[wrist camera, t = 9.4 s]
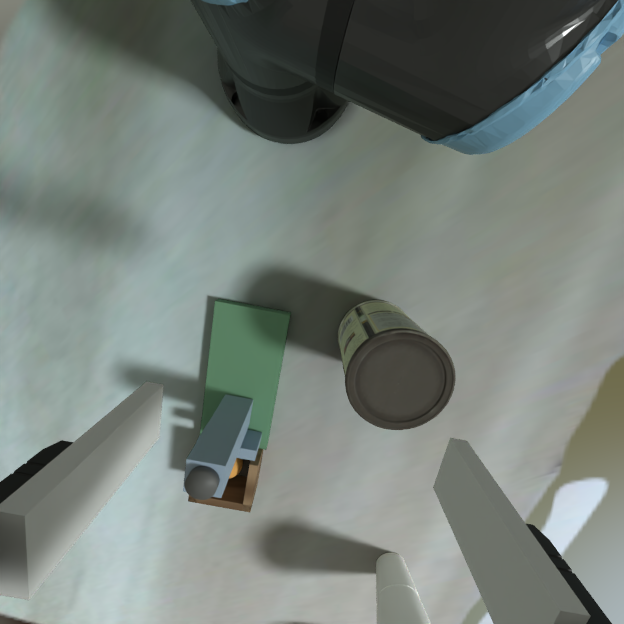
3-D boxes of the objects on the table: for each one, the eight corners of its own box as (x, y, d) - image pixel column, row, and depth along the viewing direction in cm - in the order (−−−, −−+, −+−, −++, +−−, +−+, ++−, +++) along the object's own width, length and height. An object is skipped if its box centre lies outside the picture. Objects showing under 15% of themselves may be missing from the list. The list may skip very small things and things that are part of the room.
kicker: (211, 391, 44) (161, 462, 30) (267, 402, 44) (242, 477, 30) (206, 431, 45) (157, 516, 32) (260, 441, 45) (234, 530, 32)
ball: (214, 475, 47) (222, 447, 49) (240, 480, 47) (247, 452, 49) (209, 475, 43) (218, 445, 45) (237, 481, 43) (244, 450, 45)
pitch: (218, 298, 42) (215, 301, 41) (290, 312, 42) (289, 315, 41) (203, 431, 47) (199, 437, 46) (267, 443, 47) (266, 449, 46)
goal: (206, 431, 47) (193, 454, 42) (264, 442, 47) (258, 466, 42) (201, 474, 49) (188, 501, 44) (257, 485, 49) (250, 512, 44)
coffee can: (410, 369, 44) (450, 431, 30) (337, 370, 44) (344, 430, 30) (415, 298, 41) (461, 329, 28) (337, 299, 42) (345, 330, 28)
